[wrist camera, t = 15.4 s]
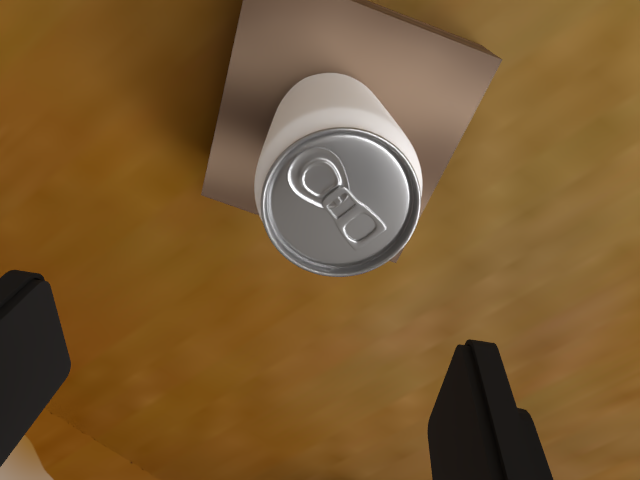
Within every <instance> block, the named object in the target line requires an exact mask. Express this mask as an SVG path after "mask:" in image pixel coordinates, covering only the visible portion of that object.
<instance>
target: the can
mask: <svg viewBox="0 0 640 480" xmlns="http://www.w3.org/2000/svg"><path fill="white" fill-rule="evenodd" d="M254 192H255V201H256V206H257V209H258V213H259V215H260V218H261V220H262V222H263V224H264V227H265V230H266V232H267V234H268V236H269V238H270V240H271V242H272V243H273V244H274V246H275V247H276V248H277V250H278V251H279V252H280V253H281V254H282V255H283V256H284V257H285V258H287V259H288V260H289V261H290V262H292V263H293V264H295V265H297V266H298V267H300V268H302V269H304V270H307V271H309V272H312V273H315V274H319V275H324V276H332V277H345V276H353V275H358V274H362V273H365V272H368V271H371V270H373V269H375V268H378V267H379V266H381V265H383V264H385V263H386V262H388V261H389V260H390V259H392V258H393V257H394V256H395V255H396V254H397V253H398V252H399V251H400V250H401V249H402V248H403V247H404V246H405V245H406V243H407V242H408V240H409V239H410V237H411V236H412V234H413V232H414V230H415V227H416V225H417V222H418V219H419V215H420V208H421V196H422V172H421V167H420V164H419V160H418V157H417V155H416V152H415V150H414V148H413V146H412V144H411V143H410V141H409V139H408V138H407V136H406V135H405V133H404V132H403V131H402V129H401V128H400V127H399V125H398V124H397V123H396V121H395V120H394V119H393V118H392V116H391V115H390V114H389V112H388V111H387V110H386V109H385V107H384V106H383V105H382V104H381V102H380V101H379V100H378V99H377V97H376V96H375V95H374V94H373V93H372V92H371V91H370V90H369V89H368V88H367V87H366V86H365V85H364V84H362V83H361V82H360V81H358V80H356V79H354V78H352V77H350V76H347V75H343V74H339V73H321V74H316V75H312V76H309V77H306V78H304V79H302V80H301V81H299V82H298V83H297V84H296V85H294V86H293V87H292V88H291V89H290V90H289V91H288V93H287V94H286V95H285V96H284V98H283V99H282V101H281V102H280V104H279V106H278V108H277V110H276V113H275V115H274V118H273V121H272V123H271V126H270V129H269V131H268V134H267V137H266V140H265V143H264V145H263V148H262V151H261V154H260V157H259V160H258V164H257V168H256V173H255V183H254Z"/></svg>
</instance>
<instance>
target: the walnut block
mask: <svg viewBox="0 0 640 480" xmlns="http://www.w3.org/2000/svg"><path fill="white" fill-rule="evenodd" d="M501 61H502V59H501V58H499V57H498V56H496V55H495V54H493V53H492V52H490V51H489V50H487V49H486V48H485V47H483V46H482V45H479V44H477V43H474V42H472V41H469V40H466V39H464V38H461V37H459V36H456V35H454V34H451V33H449V32H446V31H444V30H441V29H438V28H436V27H433V26H431V25H428V24H426V23H423V22H421V21H418V20H415V19H413V18H410V17H408V16H405V15H403V14H400V13H398V12H395V11H393V10H390V9H387V8H385V7H382V6H380V5H377V4H375V3H372V2H370V1H367V0H243V3H242V8H241V12H240V17H239V22H238V26H237V31H236V36H235V40H234V45H233V50H232V54H231V59H230V63H229V68H228V73H227V77H226V82H225V87H224V91H223V96H222V101H221V105H220V110H219V115H218V119H217V124H216V129H215V133H214V138H213V143H212V147H211V152H210V157H209V161H208V166H207V171H206V175H205V180H204V185H203V189H202V194H201V195H203V196H205V197H208V198H211V199H214V200H217V201H220V202H223V203H225V204H228V205H231V206H234V207H237V208H240V209H243V210H246V211H248V212H251V213H254V214H257V215H259V213H258V209H257V206H256V201H255V192H254V183H255V173H256V168H257V164H258V160H259V157H260V154H261V151H262V148H263V145H264V143H265V140H266V137H267V134H268V131H269V129H270V126H271V123H272V121H273V118H274V115H275V113H276V110H277V108H278V106H279V104H280V102H281V101H282V99H283V98H284V96H285V95H286V94H287V93H288V91H289V90H290V89H291V88H292V87H293V86H294V85H296V84H297V83H298V82H299V81H301V80H302V79H304V78H306V77H309V76H312V75H316V74H321V73H339V74H343V75H347V76H350V77H352V78H354V79H356V80H358V81H360V82H361V83H362V84H364V85H365V86H366V87H367V88H368V89H369V90H370V91H371V92H372V93H373V94H374V95H375V96H376V97H377V99H378V100H379V101H380V102H381V104H382V105H383V106H384V107H385V109H386V110H387V111H388V112H389V114H390V115H391V116H392V118H393V119H394V120H395V121H396V123H397V124H398V125H399V127H400V128H401V129H402V131H403V132H404V133H405V135H406V136H407V138H408V139H409V141H410V143H411V144H412V146H413V148H414V150H415V152H416V155H417V157H418V160H419V164H420V167H421V172H422V196H421V208H420V215H419V218H420V216H421V214H422V212H423V210H424V208H425V207H426V205H427V203H428V201H429V199H430V197H431V195H432V193H433V191H434V189H435V187H436V186H437V184H438V182H439V180H440V178H441V176H442V174H443V172H444V170H445V168H446V166H447V164H448V163H449V161H450V159H451V157H452V155H453V153H454V151H455V149H456V147H457V145H458V143H459V142H460V140H461V138H462V136H463V134H464V132H465V130H466V128H467V126H468V124H469V122H470V121H471V119H472V117H473V115H474V113H475V111H476V109H477V107H478V105H479V103H480V101H481V99H482V98H483V96H484V94H485V92H486V90H487V88H488V86H489V84H490V82H491V80H492V78H493V77H494V75H495V73H496V71H497V69H498V67H499V65H500V63H501ZM418 220H419V219H418ZM404 247H405V246H404ZM404 247H403V248H402V249H401V250H400V251H399V252H398V253H397V254H396V255H395V256H394V257H393V258H392V259H390V260H389V261H392V262H395V263H396V262H397V260H398V258H399V256H400V254H401V252H402V251H403V249H404Z"/></svg>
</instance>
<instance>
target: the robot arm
mask: <svg viewBox="0 0 640 480" xmlns="http://www.w3.org/2000/svg"><path fill="white" fill-rule="evenodd" d="M70 367H71V362H70V358H69V354H68V350H67V346H66V343H65V339H64V335H63V331H62V328H61V324H60V320H59V316H58V313H57V309H56V305H55V301H54V298H53V294H52V290H51V286H50V284H49V283H48V282H47V281H45V280H44V277H43V276H42V275H41V274H38V273H32V272H25V271H19V270H11V271H9V272H7V273H6V274H4V275H3V276H2V277H1V278H0V467H1V466H2V464H3V463H4V462H5V460H6V459H7V457H8V456H9V455H10V453H11V452H12V451H13V449H14V448H15V447H16V445H17V444H18V443H19V441H20V440H21V439H22V437H23V436H24V435H25V433H26V432H27V431H28V429H29V428H30V426H31V425H32V424H33V422H34V421H35V420H36V418H37V417H38V416H39V414H40V413H41V412H42V410H43V409H44V408H45V406H46V405H47V404H48V402H49V401H50V400H51V398H52V397H53V395H54V394H55V393H56V391H57V390H58V389H59V387H60V386H61V385H62V383H63V382H64V381H65V379H66V378H67V376H68V374H69V371H70ZM428 442H429V451H430V460H431V469H432V477H433V480H553V477H552V474H551V472H550V469H549V466H548V463H547V460H546V457H545V454H544V451H543V448H542V446H541V443H540V440H539V437H538V434H537V431H536V428H535V425H534V422H533V420H532V418H531V416H530V414H529V413H528V412H527V411H526V410H524V409H520V408H517V407H516V403H515V400H514V397H513V394H512V391H511V388H510V385H509V382H508V378H507V375H506V372H505V369H504V366H503V363H502V360H501V357H500V353H499V350H498V348H497V346H496V344H495V343H489V342H483V341H476V340H467V341H466V343H465V345H458V346H457V347H456V349H455V352H454V355H453V357H452V360H451V363H450V365H449V368H448V371H447V373H446V376H445V379H444V381H443V384H442V387H441V389H440V392H439V395H438V397H437V400H436V403H435V405H434V408H433V411H432V413H431V416H430V419H429V423H428Z"/></svg>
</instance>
